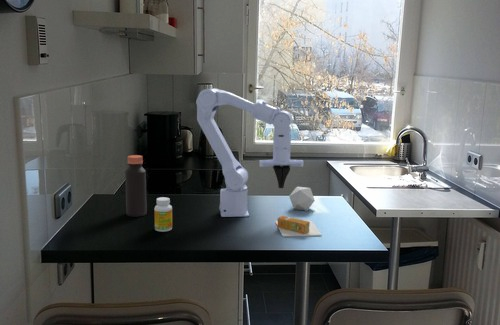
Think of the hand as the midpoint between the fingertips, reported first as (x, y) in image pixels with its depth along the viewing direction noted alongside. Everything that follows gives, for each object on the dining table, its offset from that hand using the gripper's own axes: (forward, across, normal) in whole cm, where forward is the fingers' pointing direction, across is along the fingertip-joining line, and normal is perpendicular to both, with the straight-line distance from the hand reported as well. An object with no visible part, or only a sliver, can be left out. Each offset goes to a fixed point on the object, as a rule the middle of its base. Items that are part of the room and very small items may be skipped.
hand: (280, 187), depth 167 cm
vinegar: (+10, -49, +5) cm, 50 cm away
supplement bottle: (+10, -38, -11) cm, 41 cm away
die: (+11, +9, +10) cm, 17 cm away
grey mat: (+10, +4, -12) cm, 17 cm away
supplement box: (+8, -2, -11) cm, 14 cm away
